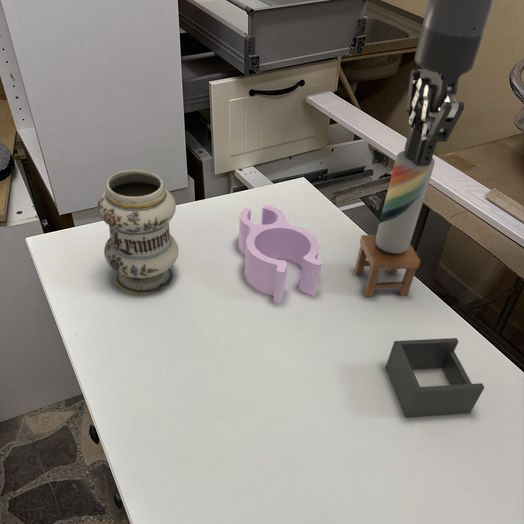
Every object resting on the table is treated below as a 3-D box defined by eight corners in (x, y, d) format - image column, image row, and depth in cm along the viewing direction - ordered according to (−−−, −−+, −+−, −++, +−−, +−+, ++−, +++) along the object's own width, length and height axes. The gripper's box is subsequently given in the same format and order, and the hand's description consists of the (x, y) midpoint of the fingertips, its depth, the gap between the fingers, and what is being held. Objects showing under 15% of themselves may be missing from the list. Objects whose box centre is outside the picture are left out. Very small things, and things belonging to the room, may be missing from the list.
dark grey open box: (444, 365, 81) (456, 337, 77) (469, 415, 74) (484, 387, 70) (384, 369, 79) (394, 340, 75) (404, 419, 73) (416, 391, 69)
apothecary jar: (149, 309, 85) (137, 211, 73) (94, 282, 89) (74, 184, 77) (193, 273, 93) (190, 179, 80) (141, 250, 97) (130, 156, 84)
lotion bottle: (392, 231, 91) (425, 114, 77) (415, 248, 88) (454, 129, 74) (367, 240, 89) (396, 120, 74) (390, 257, 85) (425, 136, 71)
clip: (222, 243, 100) (223, 211, 95) (282, 233, 104) (285, 201, 99) (262, 308, 87) (265, 275, 83) (328, 294, 91) (335, 261, 86)
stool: (394, 271, 98) (405, 234, 92) (408, 298, 92) (420, 261, 86) (352, 272, 96) (361, 235, 91) (364, 300, 91) (374, 262, 85)
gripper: (507, 43, 61) (459, 181, 73) (459, 11, 71) (423, 137, 83) (446, 41, 60) (407, 181, 72) (406, 9, 70) (378, 137, 82)
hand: (416, 157), depth 77 cm, fingers closed on lotion bottle, 3 cm apart
